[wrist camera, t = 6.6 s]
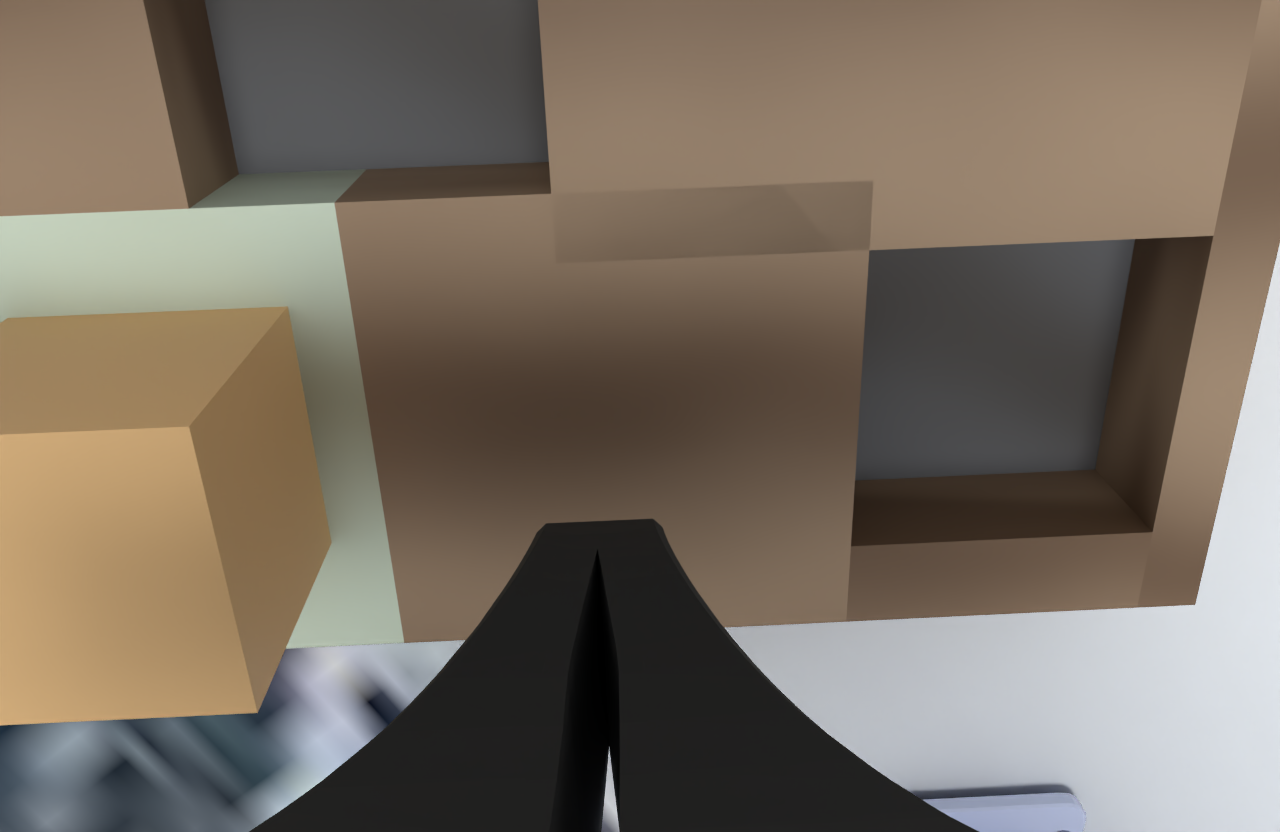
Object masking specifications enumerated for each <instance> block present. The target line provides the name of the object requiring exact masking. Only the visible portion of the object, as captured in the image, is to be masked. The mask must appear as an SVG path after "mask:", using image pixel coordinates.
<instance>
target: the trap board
mask: <svg viewBox="0 0 1280 832" xmlns="http://www.w3.org/2000/svg"><path fill="white" fill-rule="evenodd" d="M1279 243H1280V0H0V323H1V322H2V321H4V320H5V319H7V318H20V317H44V316H68V315H92V314H116V313H140V312H164V311H188V310H213V309H237V308H261V307H285V306H288V310H289V315H290V321H291V326H292V331H293V337H294V342H295V348H296V353H297V358H298V364H299V369H300V375H301V380H302V385H303V391H304V396H305V402H306V407H307V413H308V418H309V423H310V429H311V434H312V440H313V445H314V450H315V456H316V461H317V467H318V472H319V478H320V483H321V488H322V494H323V499H324V505H325V510H326V515H327V521H328V526H329V532H330V537H331V542H332V543H331V545H330V548H329V550H328V552H327V555H326V557H325V559H324V561H323V564H322V566H321V568H320V571H319V573H318V575H317V578H316V580H315V582H314V584H313V587H312V589H311V591H310V594H309V596H308V598H307V600H306V603H305V605H304V607H303V610H302V612H301V614H300V617H299V619H298V621H297V623H296V626H295V628H294V630H293V633H292V635H291V637H290V639H289V642H288V644H287V646H286V649H288V648H308V647H329V646H350V645H370V644H391V643H412V642H432V641H453V640H466V639H467V638H468V637H469V636H470V635H471V633H472V632H473V631H474V629H475V628H476V627H477V625H478V624H479V623H480V622H481V620H482V619H483V617H484V616H485V614H486V613H487V612H488V610H489V609H490V607H491V606H492V605H493V603H494V602H495V600H496V599H497V597H498V596H499V595H500V593H501V592H502V590H503V589H504V587H505V586H506V584H507V583H508V581H509V580H510V578H511V577H512V575H513V573H514V572H515V570H516V569H517V567H518V566H519V564H520V562H521V561H522V559H523V557H524V555H525V554H526V552H527V550H528V548H529V547H530V545H531V543H532V541H533V539H534V537H535V535H536V533H537V532H538V531H539V530H540V529H541V528H542V527H543V526H544V525H545V524H546V523H565V522H588V521H610V520H632V519H654V520H655V521H656V522H657V523H659V524H660V525H661V526H662V527H663V529H664V533H665V535H666V537H667V540H668V542H669V544H670V546H671V548H672V550H673V552H674V554H675V556H676V558H677V559H678V561H679V563H680V564H681V566H682V568H683V569H684V571H685V573H686V574H687V576H688V578H689V579H690V581H691V582H692V584H693V585H694V587H695V588H696V590H697V591H698V593H699V594H700V596H701V597H702V598H703V600H704V601H705V603H706V604H707V605H708V607H709V608H710V610H711V611H712V612H713V614H714V615H715V616H716V618H717V619H718V621H719V622H720V623H721V624H722V626H723V627H742V626H763V625H784V624H805V623H825V622H846V621H867V620H887V619H908V618H929V617H949V616H970V615H991V614H1011V613H1032V612H1053V611H1073V610H1094V609H1115V608H1135V607H1156V606H1177V605H1195V603H1196V598H1197V594H1198V590H1199V586H1200V581H1201V577H1202V573H1203V568H1204V564H1205V560H1206V556H1207V551H1208V547H1209V543H1210V539H1211V534H1212V530H1213V526H1214V521H1215V517H1216V513H1217V509H1218V504H1219V500H1220V496H1221V491H1222V487H1223V483H1224V479H1225V474H1226V470H1227V466H1228V461H1229V457H1230V453H1231V449H1232V444H1233V440H1234V436H1235V431H1236V427H1237V423H1238V419H1239V414H1240V410H1241V406H1242V401H1243V397H1244V393H1245V389H1246V384H1247V380H1248V376H1249V372H1250V367H1251V363H1252V359H1253V354H1254V350H1255V346H1256V342H1257V337H1258V333H1259V329H1260V324H1261V320H1262V316H1263V312H1264V307H1265V303H1266V299H1267V294H1268V290H1269V286H1270V282H1271V277H1272V273H1273V269H1274V264H1275V260H1276V256H1277V252H1278V247H1279Z"/></svg>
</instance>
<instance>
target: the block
mask: <svg viewBox="0 0 1280 832" xmlns="http://www.w3.org/2000/svg"><path fill="white" fill-rule="evenodd" d="M331 543H332V542H331V537H330V532H329V526H328V521H327V515H326V510H325V505H324V499H323V494H322V488H321V483H320V478H319V472H318V467H317V461H316V456H315V450H314V445H313V440H312V434H311V429H310V423H309V418H308V413H307V407H306V402H305V396H304V391H303V385H302V380H301V375H300V369H299V364H298V358H297V353H296V348H295V342H294V337H293V331H292V326H291V321H290V315H289V310H288V306H285V307H261V308H237V309H213V310H188V311H164V312H140V313H116V314H92V315H68V316H44V317H20V318H7V319H5V320H4V321H2V322H1V323H0V725H16V724H37V723H57V722H78V721H99V720H119V719H140V718H160V717H181V716H202V715H222V714H243V713H258V711H259V708H260V706H261V704H262V701H263V699H264V697H265V695H266V692H267V690H268V688H269V685H270V683H271V681H272V679H273V676H274V674H275V672H276V669H277V667H278V665H279V662H280V660H281V658H282V656H283V653H284V651H285V649H286V646H287V644H288V642H289V639H290V637H291V635H292V633H293V630H294V628H295V626H296V623H297V621H298V619H299V617H300V614H301V612H302V610H303V607H304V605H305V603H306V600H307V598H308V596H309V594H310V591H311V589H312V587H313V584H314V582H315V580H316V578H317V575H318V573H319V571H320V568H321V566H322V564H323V561H324V559H325V557H326V555H327V552H328V550H329V548H330V545H331Z"/></svg>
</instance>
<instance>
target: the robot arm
mask: <svg viewBox="0 0 1280 832" xmlns="http://www.w3.org/2000/svg"><path fill="white" fill-rule="evenodd" d="M609 748H610V756H611V764H612V772H613V781H614V789H615V797H616V805H617V813H618V821H619V829H620V832H1056V831H1059V832H1084V827H1085V822H1086V812H1085V810H1084V809H1083V807H1082V805H1081V803H1080V802H1079V800H1078V799H1077V797H1076V796H1074V795H1072V794H1070V793H1041V794H1021V795H1002V796H983V797H963V798H944V799H924V800H922V799H920V798H918V797H917V796H915V795H914V794H912V793H910V792H909V791H907V790H906V789H904V788H902V787H901V786H899V785H898V784H896V783H894V782H893V781H891V780H890V779H888V778H887V777H885V776H884V775H882V774H881V773H880V772H878V771H877V770H875V769H874V768H872V767H871V766H870V765H868V764H867V763H866V762H864V761H863V760H862V759H860V758H859V757H858V756H856V755H855V754H854V753H852V752H851V751H850V750H848V749H847V748H846V747H844V746H843V745H842V744H840V743H839V742H838V741H836V740H835V739H834V738H832V737H831V736H830V735H828V734H827V733H826V732H825V731H824V730H822V729H821V728H820V727H819V726H818V725H817V724H815V723H814V722H813V721H812V720H811V719H810V718H809V717H807V716H806V715H805V714H804V713H803V712H802V711H801V710H800V709H799V708H798V707H796V706H795V705H794V704H793V703H792V702H791V701H790V700H789V699H788V698H787V697H786V696H785V695H784V694H783V693H782V692H781V691H780V690H779V689H778V688H777V687H776V686H775V685H774V684H773V683H772V682H771V681H770V680H769V679H768V678H767V677H766V676H765V675H764V674H763V673H762V672H761V671H760V669H759V668H758V667H757V666H756V665H755V664H754V663H753V662H752V661H751V659H750V658H749V657H748V656H747V655H746V654H745V652H744V651H743V650H742V649H741V648H740V647H739V645H738V644H737V643H736V642H735V641H734V640H733V638H732V637H731V636H730V635H729V633H728V632H727V631H726V630H725V628H724V627H723V626H722V624H721V623H720V622H719V621H718V619H717V618H716V616H715V615H714V614H713V612H712V611H711V610H710V608H709V607H708V605H707V604H706V603H705V601H704V600H703V598H702V597H701V596H700V594H699V593H698V591H697V590H696V588H695V587H694V585H693V584H692V582H691V581H690V579H689V578H688V576H687V574H686V573H685V571H684V569H683V568H682V566H681V564H680V563H679V561H678V559H677V558H676V556H675V554H674V552H673V550H672V548H671V546H670V544H669V542H668V540H667V537H666V535H665V533H664V529H663V527H662V526H661V525H660V524H659V523H657V522H656V521H655V520H654V519H632V520H610V521H588V522H565V523H546V524H545V525H544V526H543V527H542V528H541V529H540V530H539V531H538V532H537V533H536V535H535V537H534V539H533V541H532V543H531V545H530V547H529V548H528V550H527V552H526V554H525V555H524V557H523V559H522V561H521V562H520V564H519V566H518V567H517V569H516V570H515V572H514V573H513V575H512V577H511V578H510V580H509V581H508V583H507V584H506V586H505V587H504V589H503V590H502V592H501V593H500V595H499V596H498V597H497V599H496V600H495V602H494V603H493V605H492V606H491V607H490V609H489V610H488V612H487V613H486V614H485V616H484V617H483V619H482V620H481V622H480V623H479V624H478V625H477V627H476V628H475V629H474V631H473V632H472V633H471V635H470V636H469V637H468V638H467V639H466V641H465V642H464V643H463V644H462V645H461V647H460V648H459V649H458V650H457V652H456V653H455V654H454V655H453V656H452V658H451V659H450V660H449V661H448V662H447V664H446V665H445V666H444V667H443V669H442V670H441V671H440V672H439V673H438V674H437V676H436V677H435V678H434V679H433V680H432V681H431V682H430V683H429V684H428V685H427V687H426V688H425V689H424V690H423V691H422V692H421V693H420V694H419V695H418V696H417V697H416V698H415V699H414V700H413V701H412V702H411V703H410V704H409V705H408V706H407V707H406V708H405V709H404V710H403V711H402V712H401V713H400V714H399V715H398V716H397V717H396V718H395V719H394V720H393V721H392V722H391V723H390V724H389V725H388V726H387V727H386V728H385V729H384V730H383V731H382V732H381V733H379V734H378V735H377V736H376V737H375V738H374V739H373V740H371V741H370V742H369V743H368V744H367V745H365V746H364V747H363V748H362V749H360V750H359V751H358V752H357V753H356V754H354V755H353V756H352V757H351V758H350V759H348V760H347V761H346V762H345V763H343V764H342V765H341V766H340V767H339V768H337V769H336V770H335V771H334V772H332V773H331V774H330V775H329V776H328V777H326V778H325V779H324V780H323V781H321V782H320V783H319V784H317V785H316V786H315V787H313V788H312V789H311V790H309V791H308V792H306V793H305V794H304V795H302V796H301V797H299V798H298V799H297V800H295V801H294V802H292V803H291V804H290V805H288V806H287V807H285V808H284V809H283V810H281V811H280V812H278V813H277V814H275V815H274V816H272V817H271V818H269V819H268V820H266V821H265V822H263V823H262V824H260V825H259V826H257V827H256V828H254V829H252V830H251V831H249V832H601V828H602V817H603V807H604V796H605V785H606V774H607V763H608V752H609ZM1060 830H1061V831H1060Z"/></svg>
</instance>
